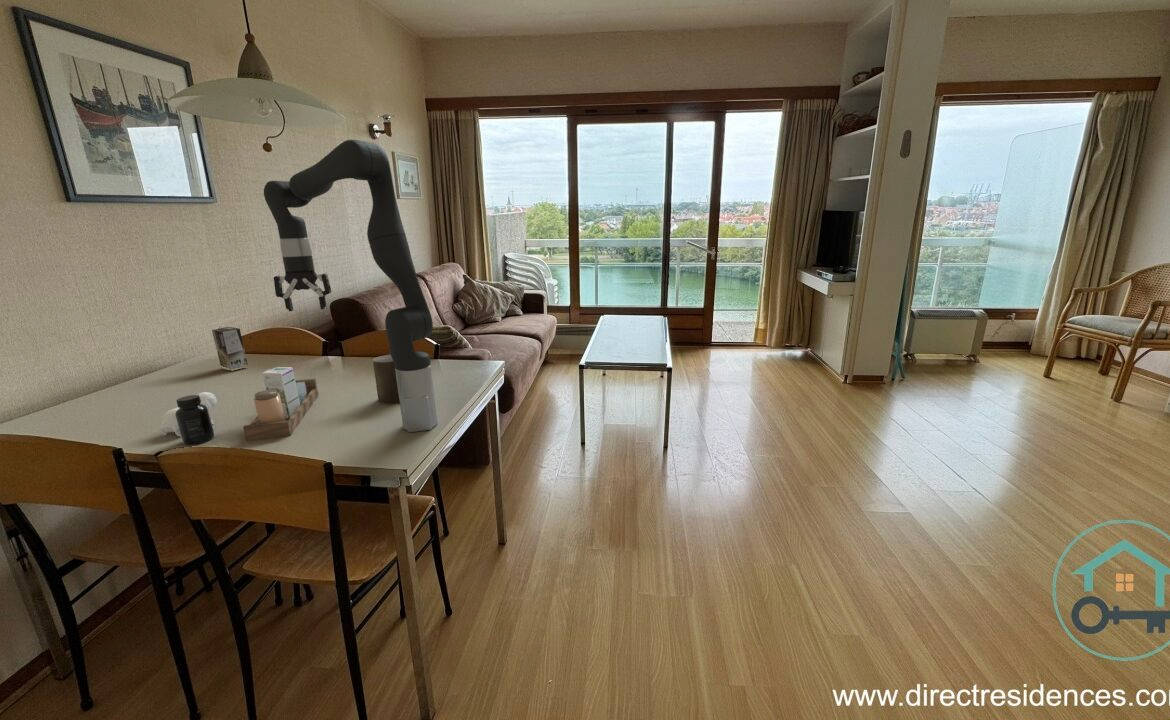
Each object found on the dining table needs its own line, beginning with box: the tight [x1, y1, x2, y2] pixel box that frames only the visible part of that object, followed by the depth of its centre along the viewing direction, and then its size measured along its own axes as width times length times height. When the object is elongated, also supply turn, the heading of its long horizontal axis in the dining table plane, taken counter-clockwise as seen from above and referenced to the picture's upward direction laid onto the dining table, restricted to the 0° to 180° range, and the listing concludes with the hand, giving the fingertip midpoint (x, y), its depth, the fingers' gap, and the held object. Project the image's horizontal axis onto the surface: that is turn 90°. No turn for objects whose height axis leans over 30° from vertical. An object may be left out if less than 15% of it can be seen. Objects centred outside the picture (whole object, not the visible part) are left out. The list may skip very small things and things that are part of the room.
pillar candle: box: [372, 354, 400, 405], centre depth 156 cm, size 10×10×15 cm
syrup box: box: [262, 366, 300, 420], centre depth 145 cm, size 6×6×14 cm
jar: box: [253, 389, 286, 424], centre depth 135 cm, size 6×6×11 cm
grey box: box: [296, 382, 307, 405], centre depth 156 cm, size 6×8×7 cm
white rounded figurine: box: [158, 391, 218, 437], centre depth 139 cm, size 8×8×15 cm
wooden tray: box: [242, 378, 320, 442], centre depth 146 cm, size 32×10×6 cm, turn 15°
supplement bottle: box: [175, 394, 215, 446], centre depth 130 cm, size 7×7×12 cm
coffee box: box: [211, 326, 249, 369], centre depth 194 cm, size 9×6×16 cm
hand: (307, 309), depth 147 cm, fingers open, 8 cm apart
